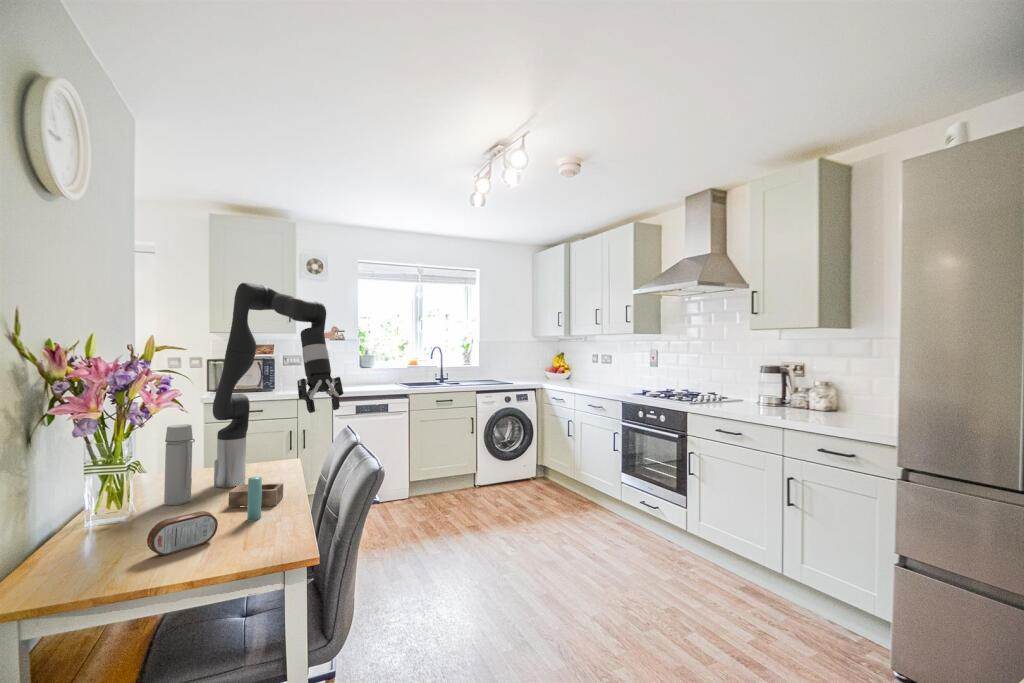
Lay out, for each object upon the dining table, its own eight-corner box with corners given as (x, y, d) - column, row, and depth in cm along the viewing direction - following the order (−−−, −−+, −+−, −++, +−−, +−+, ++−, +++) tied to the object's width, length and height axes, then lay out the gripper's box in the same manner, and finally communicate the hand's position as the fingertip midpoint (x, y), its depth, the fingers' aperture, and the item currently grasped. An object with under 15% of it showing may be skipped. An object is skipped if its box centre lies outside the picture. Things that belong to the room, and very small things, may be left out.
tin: (213, 538, 127) (214, 506, 127) (219, 541, 126) (219, 509, 126) (146, 557, 115) (146, 522, 115) (150, 561, 113) (151, 525, 113)
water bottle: (157, 505, 152) (159, 426, 152) (181, 497, 159) (183, 423, 160) (177, 508, 149) (180, 428, 149) (201, 501, 157) (203, 425, 157)
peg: (245, 521, 140) (246, 480, 140) (249, 516, 143) (250, 476, 143) (258, 520, 140) (259, 479, 141) (262, 516, 144) (263, 476, 144)
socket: (228, 507, 151) (228, 492, 151) (238, 499, 158) (238, 484, 159) (276, 505, 153) (276, 490, 153) (283, 498, 161) (283, 483, 161)
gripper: (328, 363, 158) (336, 411, 156) (288, 363, 146) (296, 415, 144) (342, 357, 154) (351, 406, 152) (302, 357, 142) (311, 410, 140)
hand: (324, 411), depth 148 cm, fingers open, 8 cm apart
